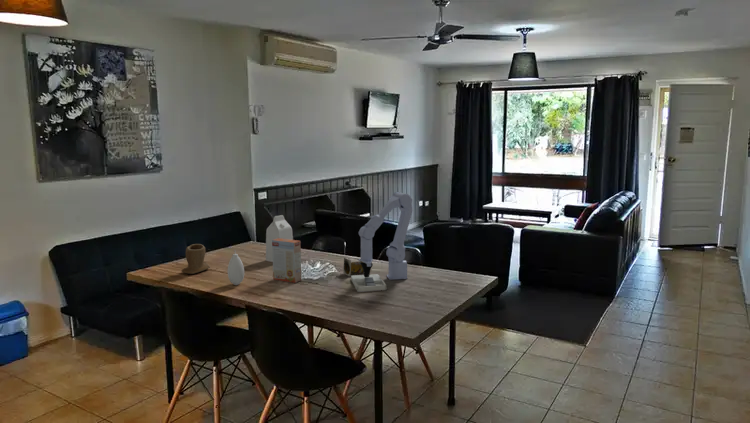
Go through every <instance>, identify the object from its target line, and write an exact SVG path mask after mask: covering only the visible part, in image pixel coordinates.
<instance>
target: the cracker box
mask: <svg viewBox="0 0 750 423" xmlns="http://www.w3.org/2000/svg"><path fill="white" fill-rule="evenodd" d="M301 244H302V242H301V240H297V239H296V240H295V239H293V240H290V239H282V238H277V239H274V240H272V253H273V262H272V278H273V280H275V281H282V282H287V283H292V284H295V283H298V282H301V281H302V251H301V249H302V248H301Z"/></svg>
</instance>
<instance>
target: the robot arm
mask: <svg viewBox="0 0 750 423" xmlns="http://www.w3.org/2000/svg"><path fill="white" fill-rule="evenodd" d="M412 204H413V198H412V197H411V196H410V194H408V193H403V192H401V191H400V192H399V191H396V192H393V193H392V195H391V196H390V197H389V199H388V201H387V202H386V203H385V204H384V206H383V207H382V208H381V209H380V211H379V212H378V214H373V215H371V217H370V220H369V219H368V221H367V223H365V224H364V225H363V226H361V227H360V229H359V231H358V235H359V237H360V258H359V259H357V260H358V262H359V261H362V263H361V265H362V268H363V272H362V273H363V275H364V277H369V275H371V269H372V267H373V261H374V260H373V238H374V236H375V233H376V231H377V230H378V229H379V228H380V227H381V225H382V224H383V223H384V219H385V217H387V216H388V214H389V213H391V212H392V210H394V209H395V208H398V209H399V210H400V214H399V219H398V223H397V226H396V228H395V229H396V230H395V233H394V236H393V241H391V242H390V243H389V246H388V248H386V252H385V253H386V256H387V257H388V258H387V259H388V274H386V277H387V278H388V280H389V281H391V280H392V281H393V280H407V279H408V263H407V260H405V258H406V246H405V239H406V237H407V233H408V229H409V226H410V220H411V218H412V214H413V205H412Z"/></svg>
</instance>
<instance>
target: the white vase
mask: <svg viewBox="0 0 750 423" xmlns="http://www.w3.org/2000/svg"><path fill="white" fill-rule="evenodd" d="M227 276H228V277H227V278H228V281H229V282H230V283H231V284H233V285H234V286H239V285H240V284H241V283H242V282H243V280H244V277H245V266H244V264H243V261H242V260H241V257H240V256H239V255H238V253H237V252H236V250H234V253H233V254H232V255H231V257H230V260H229V262H228V264H227Z"/></svg>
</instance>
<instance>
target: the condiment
mask: <svg viewBox="0 0 750 423" xmlns="http://www.w3.org/2000/svg"><path fill="white" fill-rule="evenodd" d="M361 263H362V261H359V260H358V261H352V260H350V259H348V258H345V257H343V270H342V271H343V275H344V274H345V275H346V276H349V277H351V275H353V274H354V275H355V274H362V273H363V268H362V265H361Z"/></svg>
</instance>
